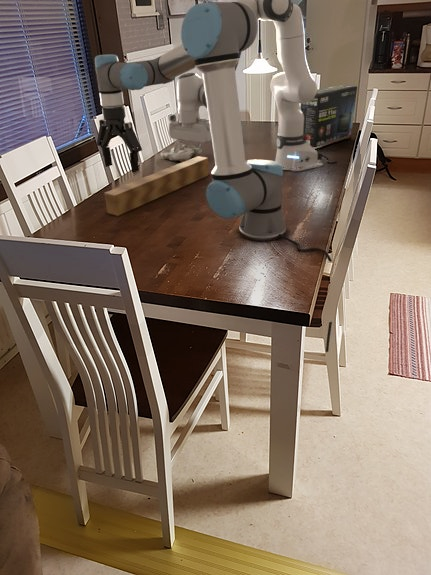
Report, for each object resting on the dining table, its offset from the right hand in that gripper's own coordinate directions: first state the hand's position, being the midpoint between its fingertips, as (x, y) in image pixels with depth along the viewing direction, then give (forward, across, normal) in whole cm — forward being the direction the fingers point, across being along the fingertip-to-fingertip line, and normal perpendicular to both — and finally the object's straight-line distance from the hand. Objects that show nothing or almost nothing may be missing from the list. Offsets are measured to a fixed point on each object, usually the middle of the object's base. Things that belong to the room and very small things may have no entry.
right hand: (190, 151), depth 194 cm
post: (+12, 0, +20) cm, 23 cm away
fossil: (+12, +27, -23) cm, 37 cm away
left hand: (-2, 0, +40) cm, 40 cm away
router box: (+11, -24, -84) cm, 88 cm away
